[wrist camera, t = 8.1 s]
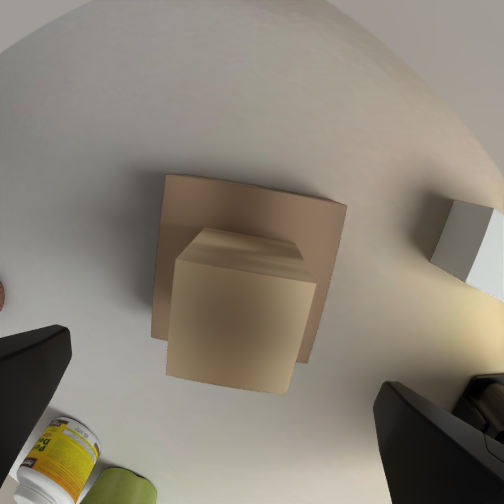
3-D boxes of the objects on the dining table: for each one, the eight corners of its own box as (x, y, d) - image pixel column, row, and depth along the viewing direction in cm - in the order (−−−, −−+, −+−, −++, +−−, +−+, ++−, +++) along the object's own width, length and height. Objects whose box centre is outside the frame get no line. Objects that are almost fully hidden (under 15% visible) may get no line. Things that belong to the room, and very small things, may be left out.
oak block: (295, 243, 16) (316, 283, 10) (277, 324, 17) (285, 394, 11) (204, 227, 16) (175, 259, 10) (193, 310, 17) (165, 374, 11)
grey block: (453, 199, 18) (504, 233, 19) (429, 261, 19) (482, 287, 20) (494, 208, 14) (543, 247, 14) (465, 282, 15) (518, 309, 15)
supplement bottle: (64, 405, 23) (10, 482, 13) (112, 443, 24) (73, 526, 14) (45, 426, 24) (0, 493, 14) (88, 460, 25) (53, 532, 15)
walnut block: (333, 200, 18) (347, 205, 16) (301, 338, 21) (307, 363, 18) (180, 173, 18) (166, 174, 15) (164, 315, 20) (150, 337, 17)
